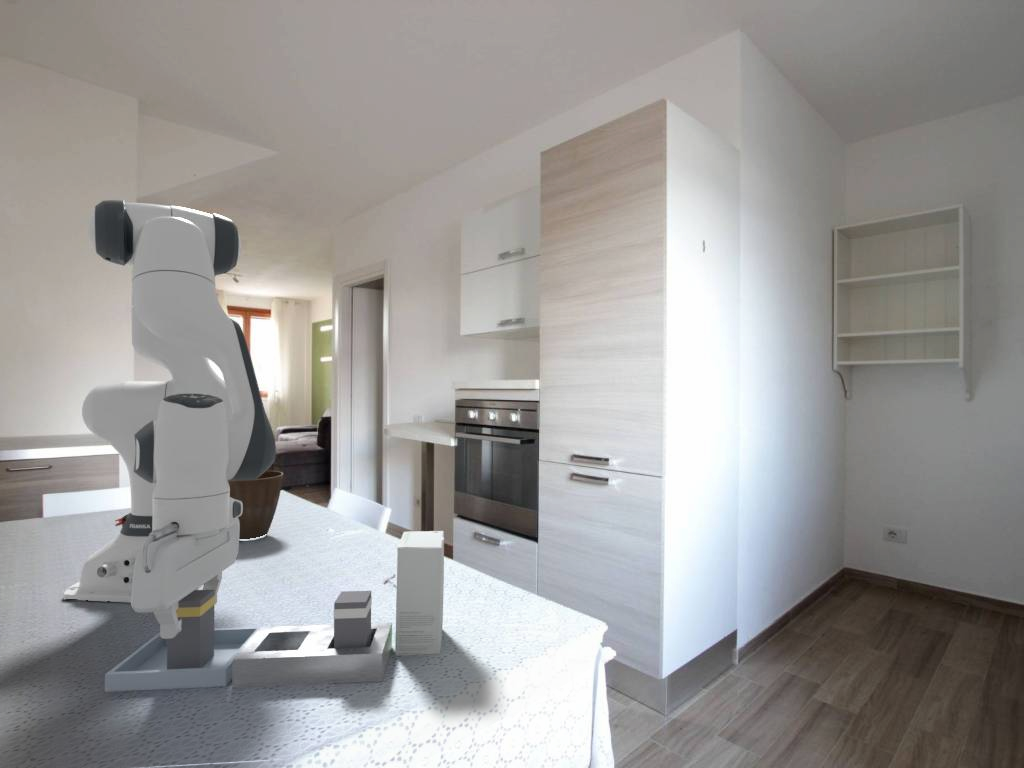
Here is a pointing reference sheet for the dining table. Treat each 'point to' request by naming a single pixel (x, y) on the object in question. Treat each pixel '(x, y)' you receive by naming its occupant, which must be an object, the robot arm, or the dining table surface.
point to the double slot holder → (309, 657)
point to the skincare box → (419, 593)
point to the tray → (152, 673)
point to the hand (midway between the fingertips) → (190, 620)
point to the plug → (193, 632)
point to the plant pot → (257, 502)
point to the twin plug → (352, 619)
